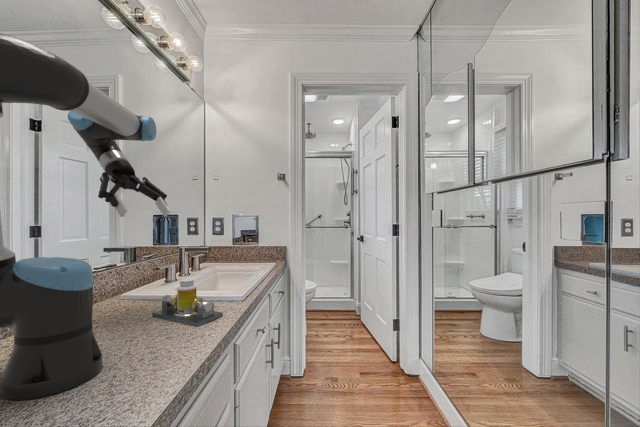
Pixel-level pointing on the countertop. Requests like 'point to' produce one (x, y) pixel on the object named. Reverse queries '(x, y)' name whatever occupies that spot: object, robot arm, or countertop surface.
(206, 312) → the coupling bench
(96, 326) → the countertop surface
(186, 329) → the countertop surface
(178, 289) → the supplement bottle
